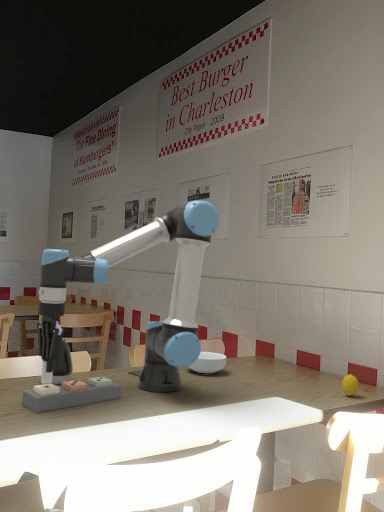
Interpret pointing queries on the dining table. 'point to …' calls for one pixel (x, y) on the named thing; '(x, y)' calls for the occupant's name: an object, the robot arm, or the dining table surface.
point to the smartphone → (135, 373)
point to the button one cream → (46, 389)
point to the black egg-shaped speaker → (62, 365)
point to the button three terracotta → (74, 385)
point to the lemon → (350, 384)
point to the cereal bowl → (208, 362)
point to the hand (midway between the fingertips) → (46, 382)
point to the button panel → (70, 397)
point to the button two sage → (99, 382)
